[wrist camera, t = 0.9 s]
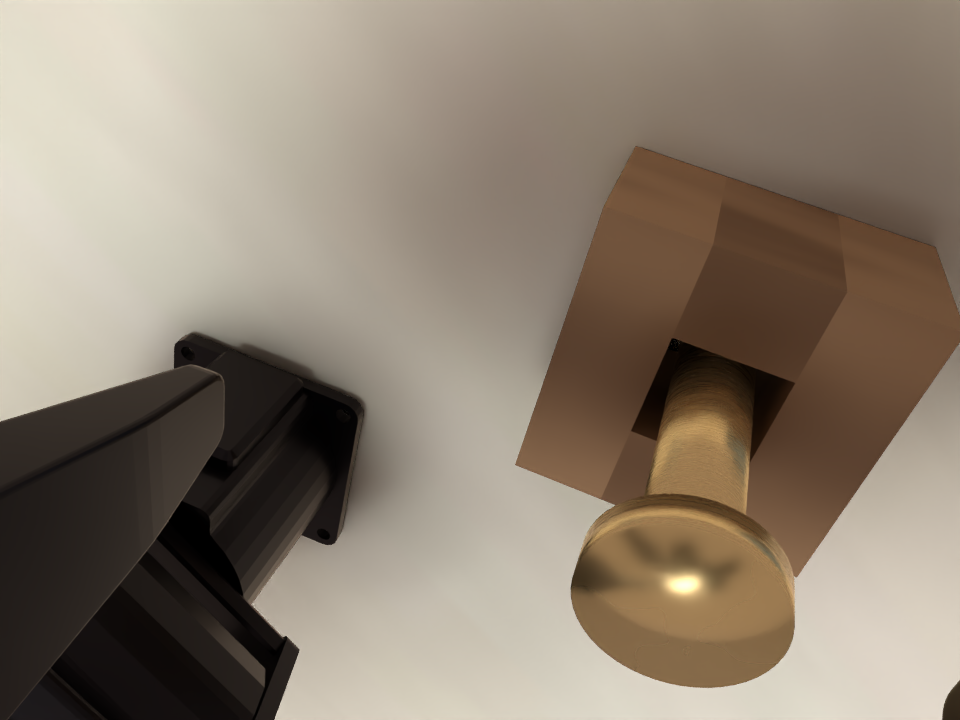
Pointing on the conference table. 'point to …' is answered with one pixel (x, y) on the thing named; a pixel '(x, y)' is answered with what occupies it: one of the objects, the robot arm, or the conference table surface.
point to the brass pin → (691, 546)
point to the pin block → (742, 341)
